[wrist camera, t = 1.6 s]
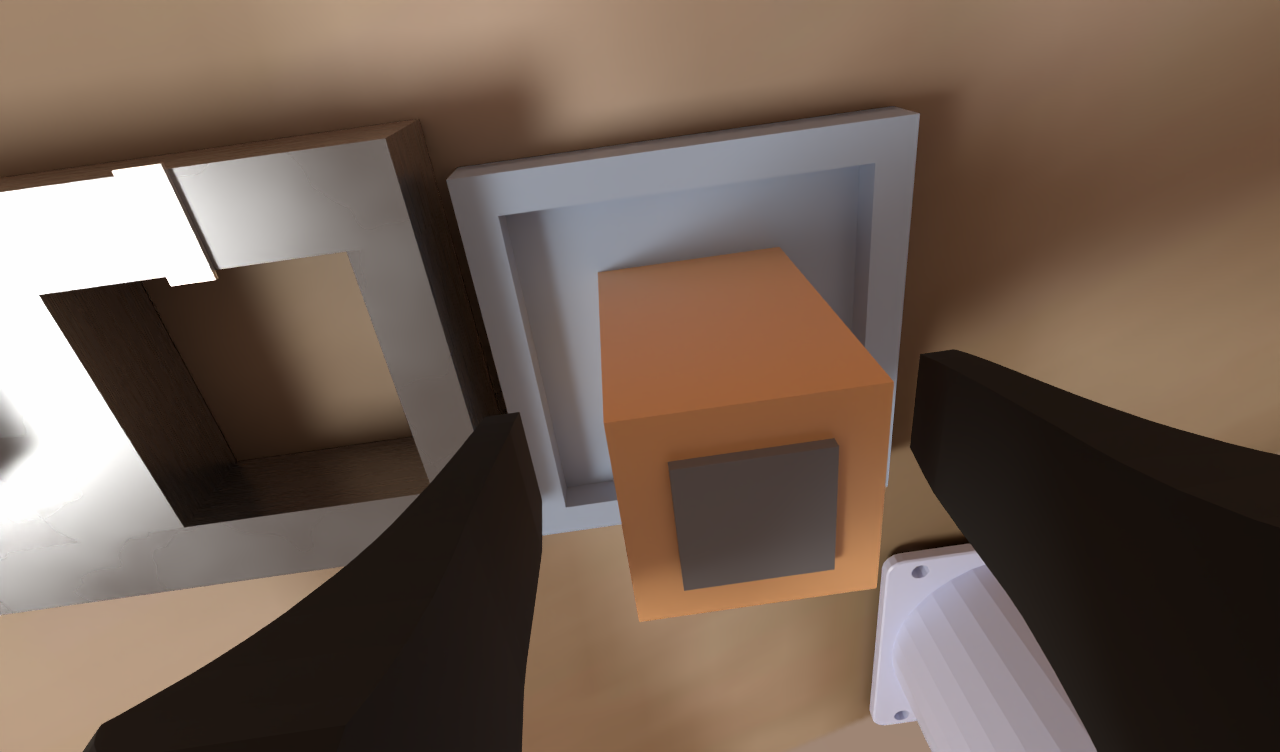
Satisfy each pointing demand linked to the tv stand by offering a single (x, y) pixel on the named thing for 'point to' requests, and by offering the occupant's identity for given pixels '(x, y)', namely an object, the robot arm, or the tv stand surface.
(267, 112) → the tv stand surface
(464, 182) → the tray
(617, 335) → the plug
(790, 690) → the tv stand surface
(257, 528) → the grey rectangular holder
